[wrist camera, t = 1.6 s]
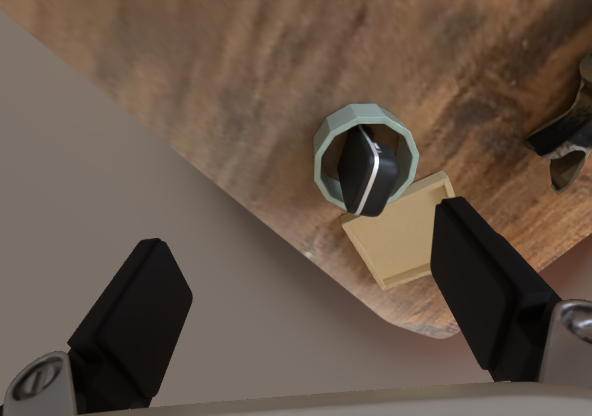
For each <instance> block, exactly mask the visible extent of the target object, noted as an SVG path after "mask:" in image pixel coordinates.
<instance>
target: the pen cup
mask: <svg viewBox="0 0 592 416" xmlns="http://www.w3.org/2000/svg"><path fill="white" fill-rule="evenodd" d="M357 124H385V125H387V126H388V127H390V128H392V129H393V130H395V131H396V134H397V136H398V139H399V142H398V148H397V153H396V158H397V160H398V162H399V165H400V174H399V177H398V179H397V181H396V184H395V186H394V188H393V190H392V193H391V195H390V197H389V199H388V201H387V203H386V204H388V203H390V202H392V201H395V200H396V199H397V198H398V197H399V196H400V195H401V194H402V193H403V191H404V190H405V189H406V188H407V187H408V186H409V185H410V184H411V182H412V181H413V180H414V176H415V171H416V167H417V163H418V158H419V153H418V151H417V148H416V146H415V143H414V140H413V138H412V135H411V133H410V131H409V130H408V129H407V128H406V127H405V126H404V125H403V124H402V123H401V122H400V120H399V119H398V118H397V117H396V116H394V115H393V114H391V113H389V112H388V111H386V110H385V109H383V108H382V107H380V106H378V105H377V104H349V105H347V106H345V107H343V108H342V109H340V110H338V111H336V112H334V113H333V114H331V115H329V116H327V117H326V119H325V120H324V122H323V123H322V125H321V127H320V128H319V130H318V131H317V133H316V135H315V136H314V138H313V172H314V181H315V182H316V184H317V186H318V187H319V189H320V190H321V192H322V194H323V195H324V197H325V198H326V200H328V201H330V202H331V203H333V204H335V205H337V206H339V207H341V208H343V209H345V210H346V207H345V204H344V200H343V195H342V191H341V185H340V182H338V181H336V180H334V179H333V178H331V177H329V176H327V174H326V173H325V171H324V169H323V168H322V166H321V156H322V155H323V153H324V152H325V150H326V149H327V147H328V146H329V144H330V143H331V141H332V140H333V138H334V137H335V136H337V135H339V134H340V133H342V132H344V131H346V130H348V129H350V128H351V127H353V126H355V125H357Z"/></svg>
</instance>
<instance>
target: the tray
mask: <svg viewBox="0 0 592 416" xmlns="http://www.w3.org/2000/svg"><path fill="white" fill-rule="evenodd" d="M452 197H455V194H454V191H453V188H452V186H451V183H450V180H449V177H448V176H447V175H446V174H445V173H444V172H443V171H442V170H441V171H439V172H437V173H435V174H433V175H430V176H428V177H426V178H424V179H422V180H419V181H417V182H415V183H413V184H411V185H409V186H408V187H407V188H406V189H405V190H404V191H403V193H402V194H401V195H400V196H399V197H398V198H397V199H396V200H395V201H392V202H390V203H388V204H386V206H385V208H384V210H383V212H382V213H381V214H380V215H379V216H377V217H367V216H362V215H353V214H351V213H347V214H345V215H342V216H340V220H341V225H342V227H343V228H344V230H345V232H346V233H347V235H348V236H349V238H350V240H351V241H352V243H353V245H354V246H355V248H356V249H357V251H358V253H359V254H360V256H361V257H362V259H363V261H364V262H365V264H366V265H367V267H368V269H369V270H370V272H371V273H372V275H373V277H374V278H375V280H376V282H377V283H378V285H379V286H380V288H381V290H382V291H384V290H387V289H390V288H393V287H395V286H398V285H401V284H404V283H407V282H409V281H412V280H415V279H418V278H420V277H423V276H426V275H429V274H432V273H431V269H430V259H431V249H432V238H433V227H434V216H435V207H436V205H437V204H441V201H442V199H445V198H452Z"/></svg>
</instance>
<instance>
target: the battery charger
mask: <svg viewBox="0 0 592 416" xmlns="http://www.w3.org/2000/svg"><path fill="white" fill-rule="evenodd" d="M337 172H338V176H339V180H340V185H341V191H342V195H343V200H344V204H345V207H346V210H347V212H349V213H351V214H353V215H362V216H367V217H377V216H379V215H380V214H381V213H382V212H383V210H384V208H385V206H386V203H387V201H388V199H389V197H390V195H391V193H392V190H393V188H394V186H395V184H396V181H397V179H398V177H399V174H400V165H399V162H398V160H397V158H396V156H395V154H394V153H393V151H392V150H391V148H390V147H389V146H387V145H385V144H381V143H377V142H376V141H375V140H374V132H373V130H372V129H370V128H369V127H367V126H364V125H361V124H357V125H355V126H353V127H351V128H350V130H349V133H348V136H347V139H346V142H345V145H344V148H343V151H342V155H341V158H340V161H339V164H338V167H337Z"/></svg>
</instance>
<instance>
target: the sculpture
mask: <svg viewBox="0 0 592 416" xmlns="http://www.w3.org/2000/svg"><path fill="white" fill-rule="evenodd" d="M579 69H580V75H581V85H580V88H579V91H578V94H577V97H576V100H575V102H574V104H573V105H572V107H571V108H570V109H569V110H568V111H567V112H566V113H565V114H563V115H561V116H559V117H558V118H556V119H554V120H552V121H550V122H548V123H547V124H545V125H543V126H542V127H540V128H539V129H537V130H536V131H534V132H533V133H532V134H530V135H529V136H528V137H527V138H526V139H525V141H524V144H525V146H526V147H527V148H528V149H531V150H533V151H535V152H536V153H537V154H538V155H539V156H542V157H544V158H548V159H550V160H551V163H550V174H551V180H552V185H551V188H552V189H553V190H554V191H555V192H556V193H557V194H560V193H562V192H563V191H565V190H566V189H567V188H568V187H569V186H570V185H571V184H572V183H573V182H574V180H575V179H576V177H577V176H578V174H579V172H580V170H581V168H582V167H583V165H584V163H585V161H586V159H587V157H588V156H589V154H590V152H591V150H592V54H588V55H586V56H585V57H584V58H583V60H582V61H581V62H580V64H579Z"/></svg>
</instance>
